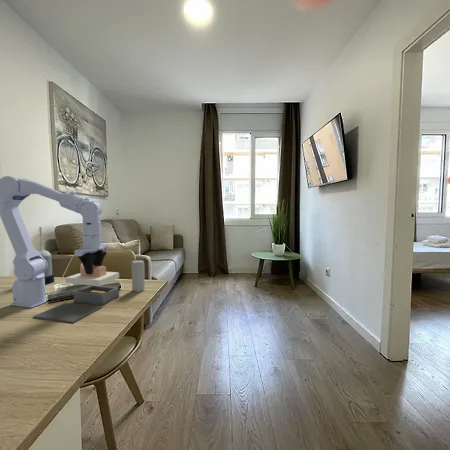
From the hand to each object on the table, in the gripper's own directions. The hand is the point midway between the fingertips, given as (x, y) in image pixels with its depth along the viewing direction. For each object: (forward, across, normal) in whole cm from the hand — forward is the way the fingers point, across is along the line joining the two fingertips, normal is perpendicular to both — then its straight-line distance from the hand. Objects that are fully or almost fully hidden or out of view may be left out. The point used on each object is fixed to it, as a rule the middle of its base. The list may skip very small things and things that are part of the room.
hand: (93, 272), depth 97 cm
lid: (+3, 0, 0) cm, 3 cm away
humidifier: (+11, +14, +38) cm, 42 cm away
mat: (+10, -12, 0) cm, 16 cm away
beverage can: (+10, +14, -9) cm, 20 cm away
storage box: (+10, +2, 0) cm, 11 cm away
